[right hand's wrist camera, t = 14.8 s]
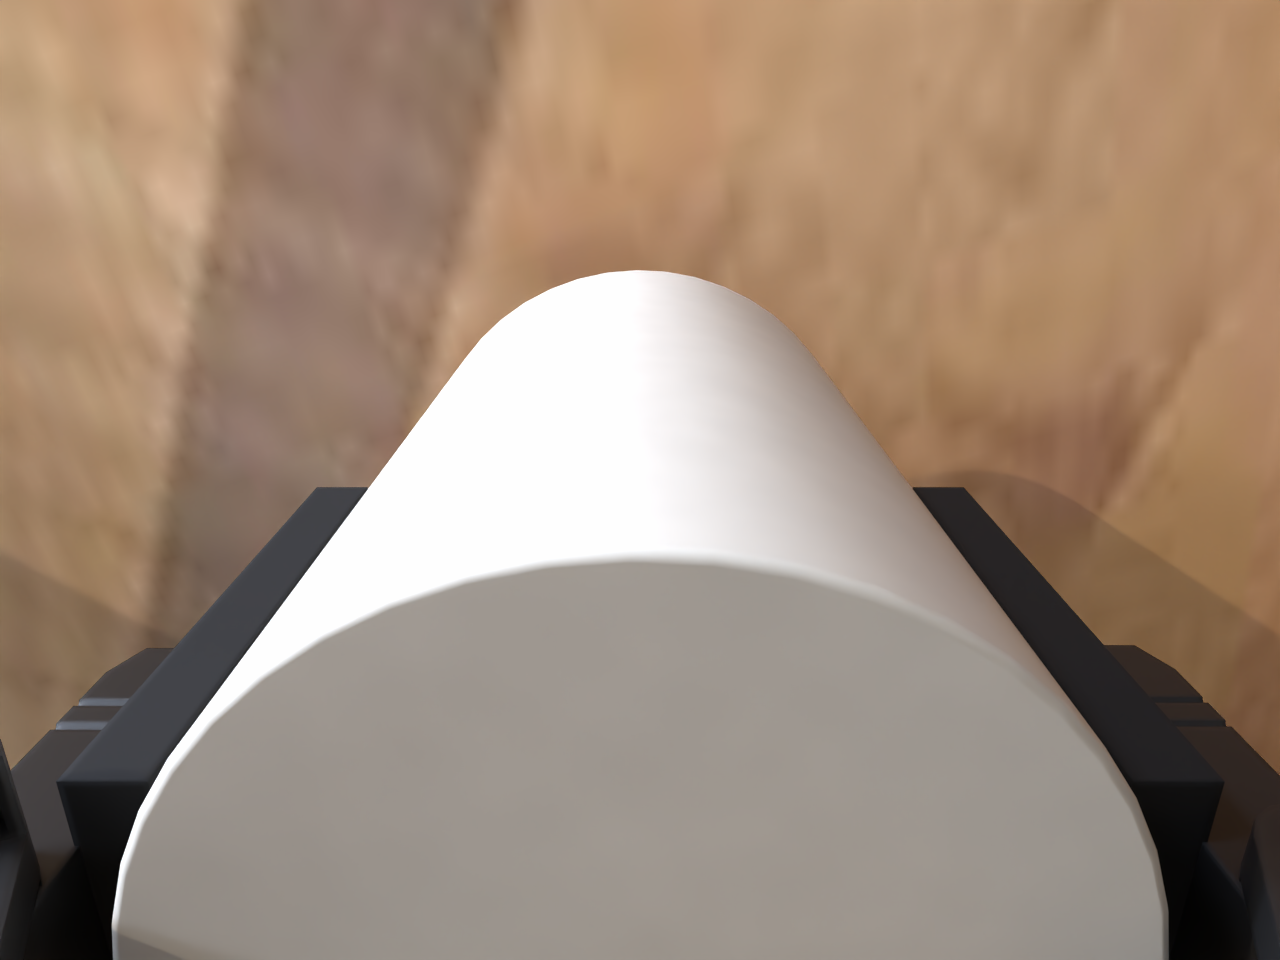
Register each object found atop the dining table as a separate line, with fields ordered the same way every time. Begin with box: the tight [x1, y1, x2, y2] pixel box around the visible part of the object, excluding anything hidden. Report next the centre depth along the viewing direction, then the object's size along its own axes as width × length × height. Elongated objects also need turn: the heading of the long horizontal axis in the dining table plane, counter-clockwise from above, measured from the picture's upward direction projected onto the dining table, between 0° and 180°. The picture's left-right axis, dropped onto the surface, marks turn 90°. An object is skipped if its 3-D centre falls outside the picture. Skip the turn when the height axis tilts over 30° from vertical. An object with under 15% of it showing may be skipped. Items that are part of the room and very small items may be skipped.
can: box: [112, 270, 1169, 960], centre depth 12 cm, size 8×8×12 cm
